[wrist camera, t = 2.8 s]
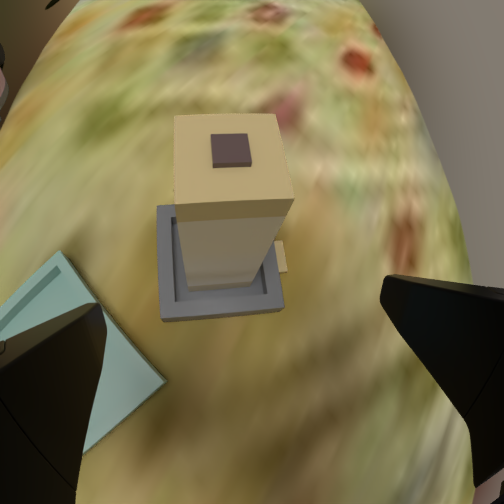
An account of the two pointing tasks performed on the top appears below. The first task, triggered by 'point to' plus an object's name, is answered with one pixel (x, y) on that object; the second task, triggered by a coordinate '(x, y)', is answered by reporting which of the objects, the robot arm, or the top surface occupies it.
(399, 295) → the robot arm
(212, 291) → the small gray square tray
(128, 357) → the parts tray
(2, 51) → the blender
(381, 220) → the top surface
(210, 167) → the block
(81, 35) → the top surface
